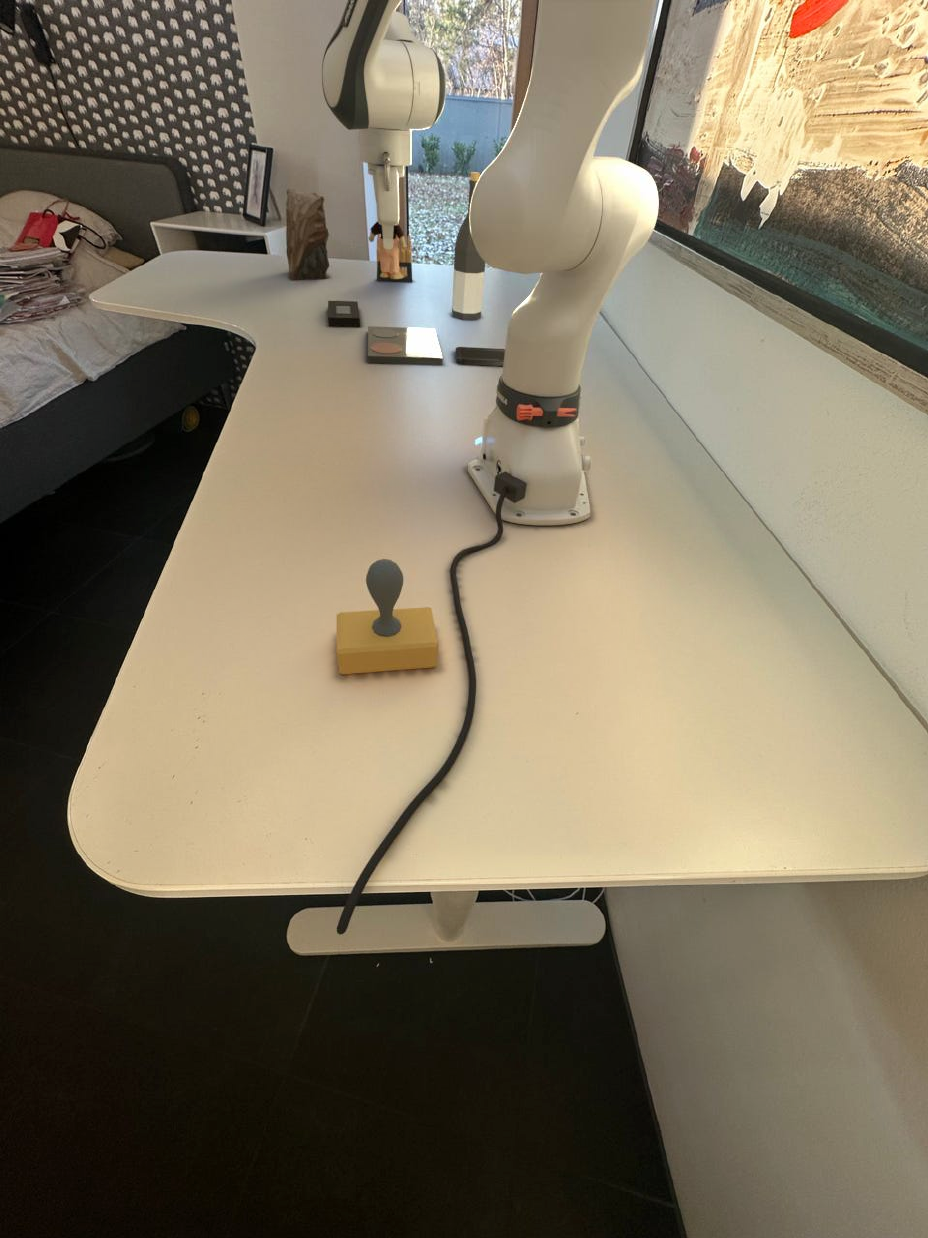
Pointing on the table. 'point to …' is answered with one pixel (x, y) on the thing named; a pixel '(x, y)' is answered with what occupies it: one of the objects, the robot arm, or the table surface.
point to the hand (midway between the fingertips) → (387, 245)
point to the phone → (480, 356)
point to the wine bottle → (467, 269)
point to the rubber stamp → (385, 629)
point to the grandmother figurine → (389, 251)
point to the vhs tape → (343, 313)
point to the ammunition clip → (404, 262)
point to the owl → (306, 236)
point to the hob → (403, 346)
